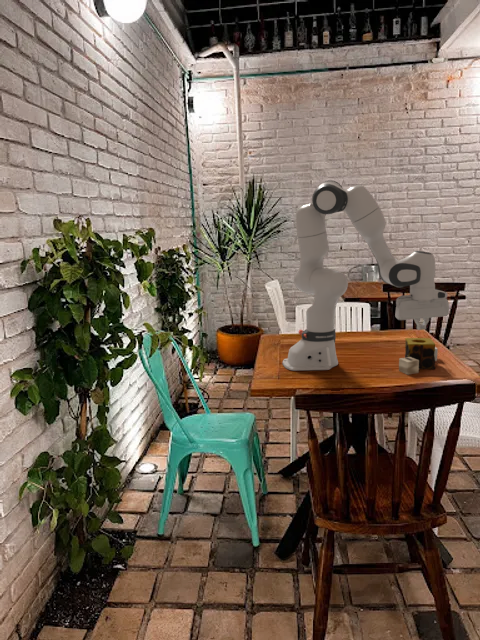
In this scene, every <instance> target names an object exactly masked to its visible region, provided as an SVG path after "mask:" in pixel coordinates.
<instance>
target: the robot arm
mask: <svg viewBox="0 0 480 640" xmlns="http://www.w3.org/2000/svg"><path fill="white" fill-rule="evenodd" d="M339 212H344V213H345V214H346V215H347V217H348V218H349V220H350V222H351V223H352V225H353V227H354V228H355V230H356V231H357V232H358V234H359V235H360V237H362V239H363V240H364V241H365V243H366V244H367V245H368V247H369V250H370V252H371V253H372V255H373V257H374V258H375V261H376V264H377V268H378V269H377V271H378V276H379V278H380V280H381V281H382V282H383V283H385V284H388V285H391V286H394V287H396V288H404V287H408V286H409V294H406V295H400V296H398V297H397V298H396V299H395V306H396V307H395V312H394V314H395V315H394V316H395V318H396V319H397V320H398V321H405V320H406V321H407V320H408V321H409V320H413V321H414V323H415V324H416V330H418V331H420V330H427V325H428V323H429V321H430V319H431V318H441V317H443V318H444V317H447V316H448V315H449V313H450V311H449V310H450V307H449V304H450V303H449V300H448V292H447V291H443V290H440V289H437V288H436V284H435V277H436V259H435V258H436V257H435V256H434V255H433V253H431V252H428V251H422V250H414V251H413V252H412V253H410V254H409V255H407V256H406V257H404V258H401V259H398V258H396V257H395V256H394V255H393V254H392V252H391V250H390V247H389V246H388V244H387V242H386V239H385V237H384V231H385V229H386V225H387V224H386V223H387V222H386V219H385V215H384V213H383V211H382V209H381V207H380V206H379V204H378V202H377V201H376V199H375V198H374V197H373V195H372V193H371V192H370V191H369V190H368V189H367V188H366V187H365V186H364V185H363V184H360V185H359V184H357V185H353V186H351V187H349V188H347V189H345V188H343V186H342V185H341V184H340V183H339V182H337V181H335V180H331V179H329V180H325V181H322V182H321V183H320V184H318V185H317V186H316V188H315V190H314V192H313V194H312V196H311V202H310V203H307V204H304V205H302V206H300V207H299V208H298V209H297V211H296V213H295V226H296V227H295V228H296V234H297V235H296V236H297V240H298V246H299V254H300V255H299V256H300V257H299V258H300V260H299V261H300V262H299V267H298V270H297V271H296V272H295V274H294V277H293V284H294V287H295V288H296V289H297V290H299V291H300V292H303V294H307V295H313V298H314V299H313V302H312V305H311V306H309V307H308V308H307V310H306V311H305V312H306V316H305V318H306V319H305V321H306V322H305V324H306V329H305V330H303V329H298V334H299V336H301V339H300V340H299V341H297V342H296V343H295V344H294V345H292V346H291V347H290V348H289V349H288V354H287V358H284V359H283V360H282V366H283V367H284V368H285V369H286V370H290V371H328V370H331V369H332V368H334V367H336V366H338V364H339V361H338V360H339V359H338V357H337V352H336V344H335V343H336V340H337V339H336V337H337V335H336V329H335V313H336V312H335V311H336V306H337V304H338V301H339V300H340V298H341V297H342V296H343V295H344V294H345V293H346V292H347V289H348V286H349V281H348V280H349V279H348V277H347V275H346V274H345V273H344V272H341V271H339V270H337V269H335V268H334V269H333V268H325V267H324V259H325V257H326V256H327V255H329V254H328V253H329V251H330V247H329V246H330V245H329V240H328V239H329V238H328V234H327V227H326V220H325V219H326V215H332V214H336V213H339ZM421 319H422V320H423V322H422V323H420V322H421Z"/></svg>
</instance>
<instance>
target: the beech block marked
mask: <svg viewBox="0 0 480 640" xmlns="http://www.w3.org/2000/svg"><path fill="white" fill-rule="evenodd" d="M419 370H420V369H419V360H417V359H415V358H412V357H406V358H405V357H400V358H399V359H398V372H400V373H402V374H405V375H407V376H409V375H412V374H419V372H420V371H419Z"/></svg>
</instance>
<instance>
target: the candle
mask: <svg viewBox="0 0 480 640" xmlns="http://www.w3.org/2000/svg"><path fill="white" fill-rule="evenodd" d="M404 340H405V341H404V342H405V344H404V346H405V347H404V348H405V350H404V351H405V353H404V358H406V357H412V358H415V359H417V360H419V370H435V369H436V361H435V356H434V354H435V347H436V343H435V342H434V341H433V339H432V338H429V337H428V338H426V337H406V338H404Z"/></svg>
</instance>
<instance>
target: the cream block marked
mask: <svg viewBox="0 0 480 640" xmlns="http://www.w3.org/2000/svg"><path fill="white" fill-rule="evenodd" d="M438 353H439V351H438V347H436V346H435V354H434V356H435V362H437V361H438Z"/></svg>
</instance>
